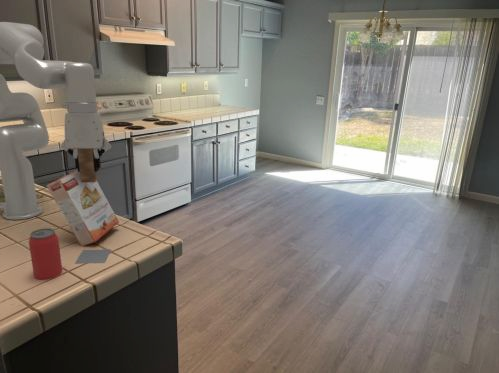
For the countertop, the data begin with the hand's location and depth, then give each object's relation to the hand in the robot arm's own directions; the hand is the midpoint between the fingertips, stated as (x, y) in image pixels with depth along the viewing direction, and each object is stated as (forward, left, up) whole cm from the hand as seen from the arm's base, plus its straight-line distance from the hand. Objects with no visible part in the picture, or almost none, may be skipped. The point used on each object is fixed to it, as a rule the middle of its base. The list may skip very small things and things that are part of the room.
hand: (88, 169), depth 114 cm
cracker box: (+2, -1, -21) cm, 21 cm away
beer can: (-6, -22, -23) cm, 32 cm away
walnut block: (0, 0, -3) cm, 3 cm away
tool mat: (+3, -13, -22) cm, 26 cm away
